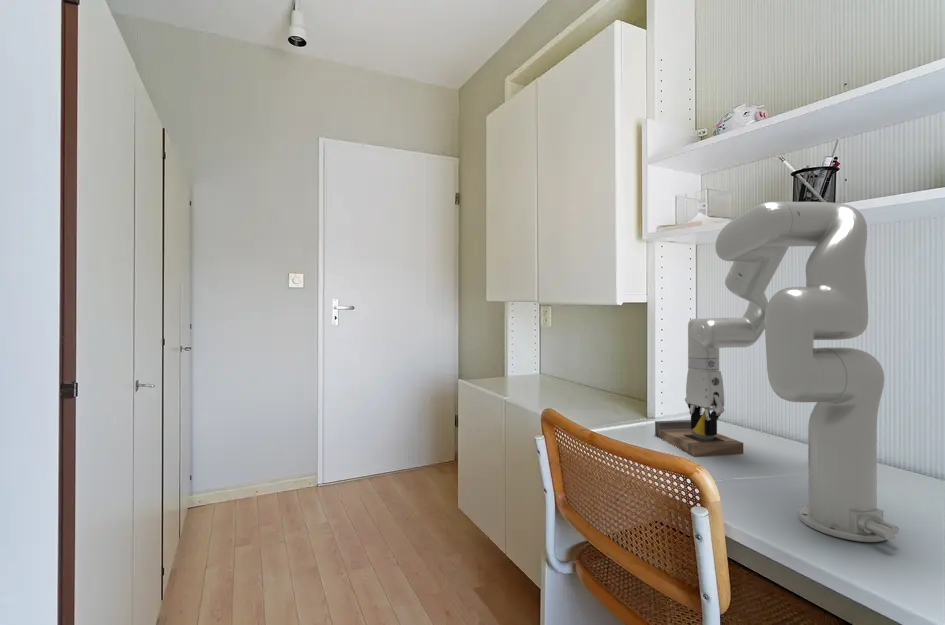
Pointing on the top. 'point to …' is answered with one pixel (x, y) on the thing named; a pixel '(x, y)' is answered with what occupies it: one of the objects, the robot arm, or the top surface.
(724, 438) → the jig
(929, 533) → the top surface
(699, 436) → the drill bit
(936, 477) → the top surface
